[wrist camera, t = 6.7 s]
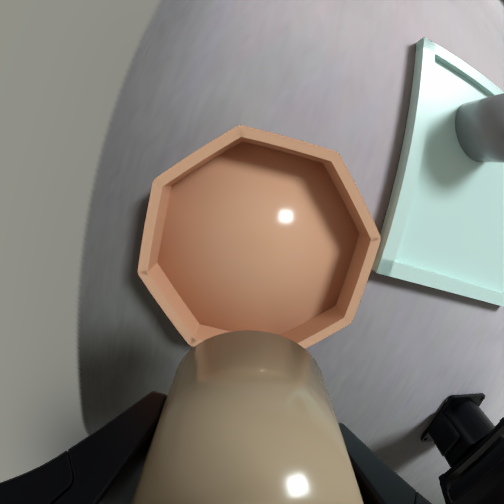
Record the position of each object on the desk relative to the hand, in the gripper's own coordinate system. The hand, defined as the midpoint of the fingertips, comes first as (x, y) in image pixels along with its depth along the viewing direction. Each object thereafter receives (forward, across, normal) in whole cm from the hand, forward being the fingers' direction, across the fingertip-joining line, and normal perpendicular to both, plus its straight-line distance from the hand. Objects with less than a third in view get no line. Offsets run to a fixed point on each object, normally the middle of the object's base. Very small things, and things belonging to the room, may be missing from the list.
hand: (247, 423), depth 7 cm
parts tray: (+12, -15, -12) cm, 23 cm away
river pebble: (+1, 0, 0) cm, 1 cm away
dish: (+12, 0, -2) cm, 12 cm away
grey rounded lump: (+11, -13, -15) cm, 23 cm away
